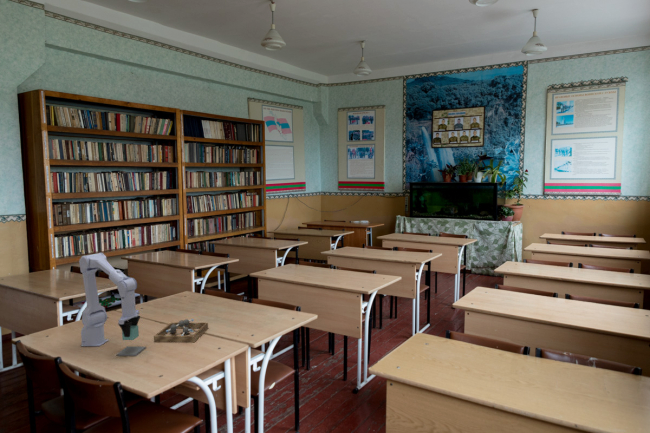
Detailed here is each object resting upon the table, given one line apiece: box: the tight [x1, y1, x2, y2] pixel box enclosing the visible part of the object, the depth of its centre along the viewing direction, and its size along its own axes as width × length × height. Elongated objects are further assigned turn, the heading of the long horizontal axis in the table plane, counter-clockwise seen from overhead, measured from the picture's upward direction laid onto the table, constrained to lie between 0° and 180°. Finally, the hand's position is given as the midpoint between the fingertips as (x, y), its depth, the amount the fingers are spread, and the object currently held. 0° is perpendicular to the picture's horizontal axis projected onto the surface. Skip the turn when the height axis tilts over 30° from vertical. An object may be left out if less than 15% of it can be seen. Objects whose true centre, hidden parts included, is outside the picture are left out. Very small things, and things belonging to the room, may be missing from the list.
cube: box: [121, 325, 140, 341], centre depth 198 cm, size 5×5×5 cm
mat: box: [116, 345, 147, 357], centre depth 199 cm, size 9×9×1 cm
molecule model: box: [166, 318, 194, 336], centre depth 223 cm, size 15×9×11 cm
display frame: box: [153, 321, 209, 343], centre depth 220 cm, size 20×20×3 cm
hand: (130, 334), depth 199 cm, fingers closed on cube, 5 cm apart
